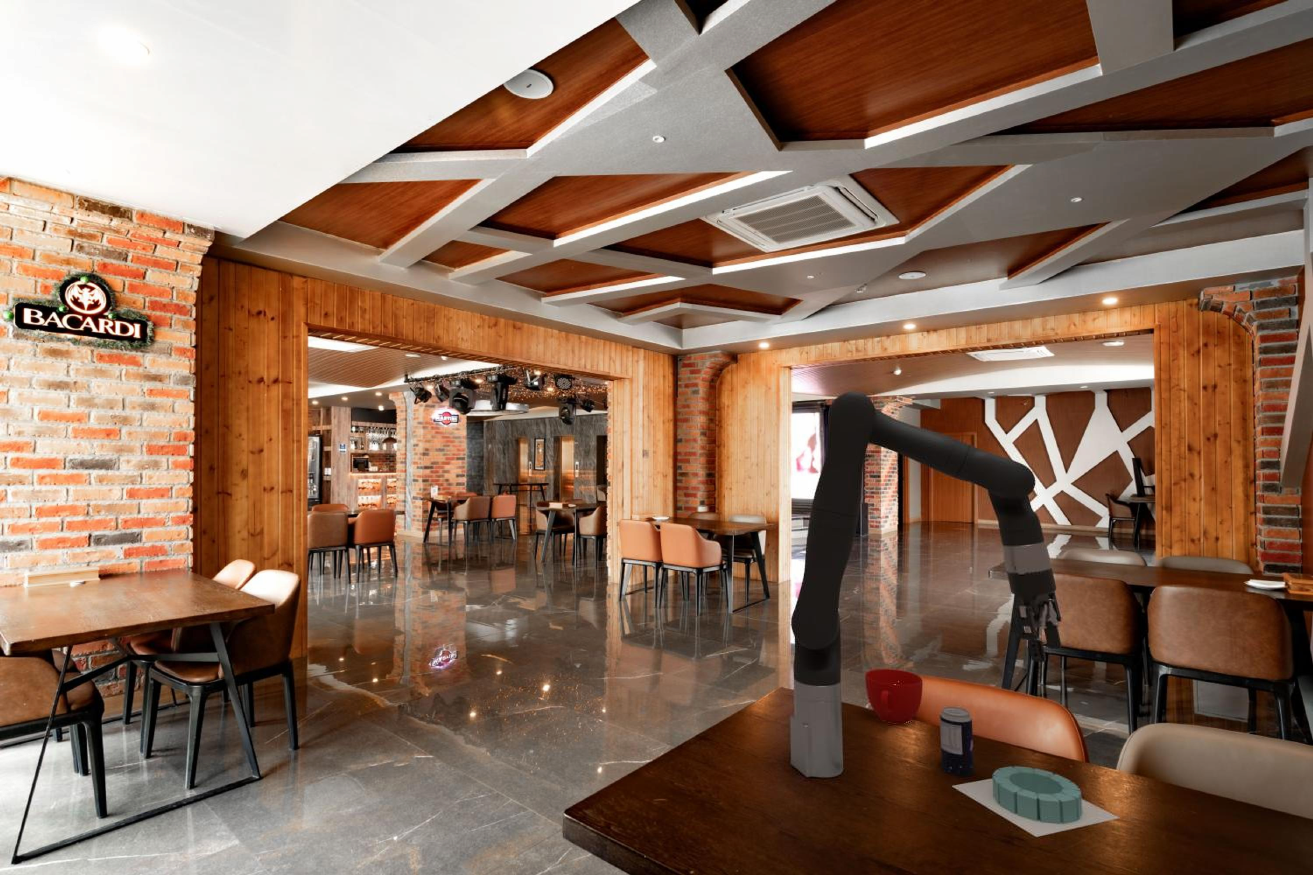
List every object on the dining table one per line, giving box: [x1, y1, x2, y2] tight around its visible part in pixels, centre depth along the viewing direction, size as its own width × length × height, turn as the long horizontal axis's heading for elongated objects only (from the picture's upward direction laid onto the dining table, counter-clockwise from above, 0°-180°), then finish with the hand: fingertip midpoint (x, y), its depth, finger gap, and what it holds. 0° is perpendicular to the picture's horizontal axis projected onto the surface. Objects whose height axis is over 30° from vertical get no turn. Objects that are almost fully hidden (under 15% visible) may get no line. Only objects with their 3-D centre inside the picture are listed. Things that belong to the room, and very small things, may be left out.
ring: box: [992, 765, 1082, 824], centre depth 112 cm, size 13×13×4 cm
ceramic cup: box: [864, 668, 924, 725], centre depth 153 cm, size 13×17×10 cm
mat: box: [951, 777, 1120, 838], centre depth 113 cm, size 18×18×1 cm
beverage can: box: [939, 706, 975, 778], centre depth 126 cm, size 6×6×12 cm
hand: (1047, 654), depth 120 cm, fingers open, 8 cm apart
